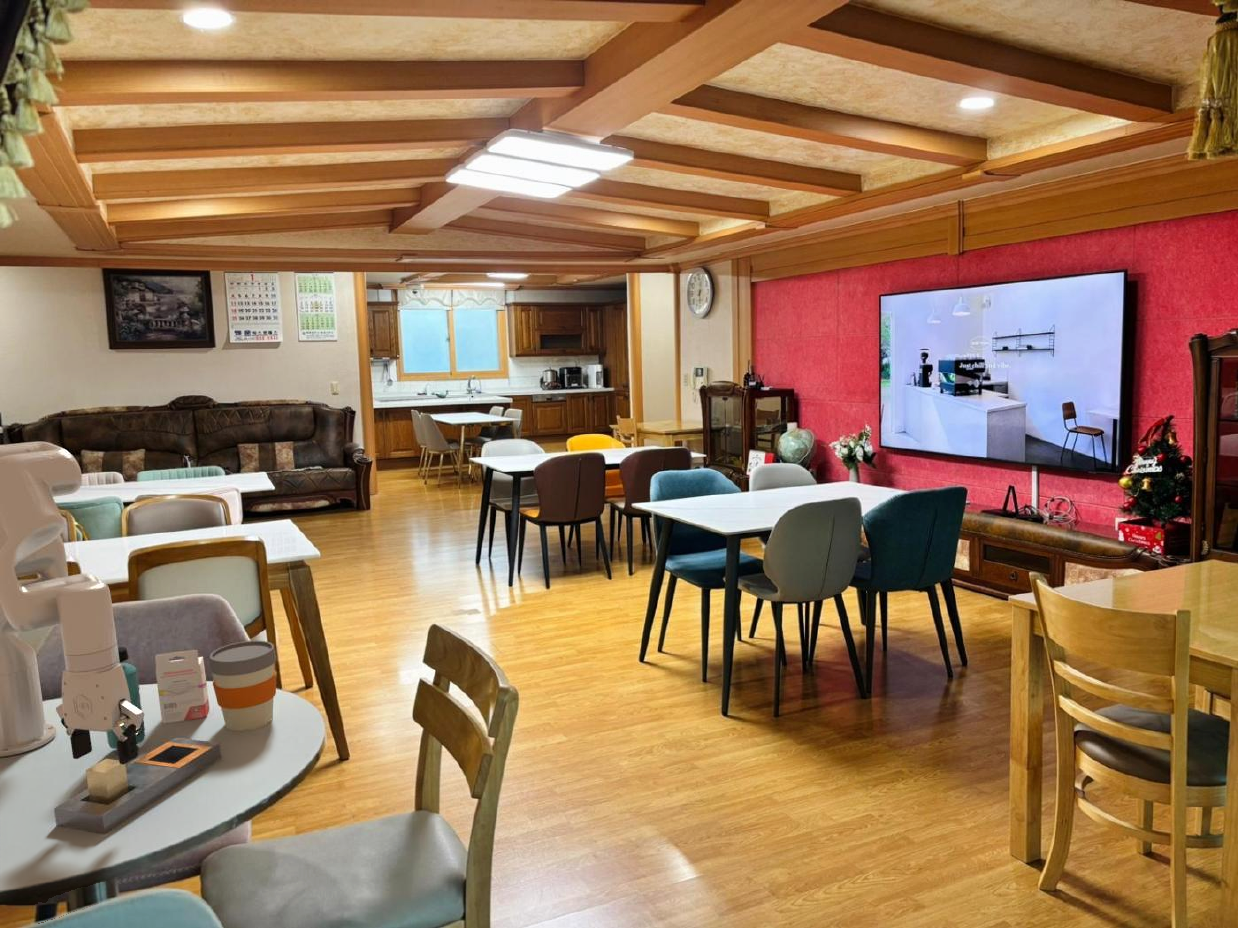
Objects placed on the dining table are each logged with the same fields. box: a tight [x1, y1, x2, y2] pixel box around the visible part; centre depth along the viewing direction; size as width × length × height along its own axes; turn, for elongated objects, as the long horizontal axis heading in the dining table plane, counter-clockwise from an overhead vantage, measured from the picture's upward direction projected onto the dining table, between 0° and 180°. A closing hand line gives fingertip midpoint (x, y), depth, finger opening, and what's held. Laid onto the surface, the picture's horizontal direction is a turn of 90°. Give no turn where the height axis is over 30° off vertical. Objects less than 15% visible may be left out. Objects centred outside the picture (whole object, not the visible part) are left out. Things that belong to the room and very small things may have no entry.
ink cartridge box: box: [154, 649, 211, 724], centre depth 185 cm, size 9×5×15 cm, turn 106°
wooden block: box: [85, 758, 129, 805], centre depth 149 cm, size 4×4×8 cm
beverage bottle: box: [105, 646, 146, 750], centre depth 171 cm, size 6×7×20 cm
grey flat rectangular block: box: [53, 737, 222, 835], centre depth 156 cm, size 10×26×3 cm, turn 163°
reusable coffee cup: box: [209, 640, 278, 732], centre depth 182 cm, size 13×13×15 cm
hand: (105, 757), depth 148 cm, fingers open, 9 cm apart
